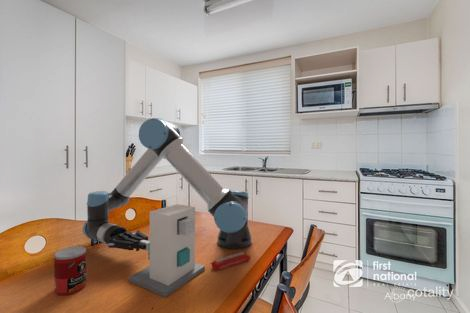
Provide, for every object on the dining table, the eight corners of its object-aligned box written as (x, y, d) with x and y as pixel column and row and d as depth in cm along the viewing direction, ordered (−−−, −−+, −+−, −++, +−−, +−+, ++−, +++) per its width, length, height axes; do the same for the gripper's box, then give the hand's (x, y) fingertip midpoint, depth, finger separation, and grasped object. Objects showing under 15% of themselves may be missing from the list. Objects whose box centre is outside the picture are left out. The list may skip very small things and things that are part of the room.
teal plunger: (148, 259, 79) (148, 242, 78) (161, 253, 83) (161, 237, 83) (179, 270, 72) (179, 252, 72) (191, 262, 77) (191, 245, 76)
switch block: (128, 280, 74) (128, 211, 73) (170, 258, 90) (170, 200, 89) (165, 297, 66) (165, 219, 65) (204, 269, 82) (205, 206, 81)
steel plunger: (152, 230, 77) (152, 213, 77) (165, 225, 82) (165, 209, 82) (183, 238, 71) (184, 220, 70) (195, 233, 75) (196, 215, 75)
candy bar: (214, 272, 80) (214, 264, 80) (209, 268, 83) (209, 259, 83) (251, 260, 89) (251, 252, 89) (245, 256, 92) (245, 249, 92)
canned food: (71, 297, 65) (70, 258, 65) (47, 294, 67) (46, 255, 67) (92, 282, 73) (92, 247, 73) (71, 279, 75) (70, 244, 74)
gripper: (127, 238, 98) (168, 251, 87) (95, 250, 87) (138, 267, 75) (127, 220, 98) (168, 231, 86) (95, 230, 87) (138, 243, 75)
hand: (154, 248), depth 81 cm, fingers closed
